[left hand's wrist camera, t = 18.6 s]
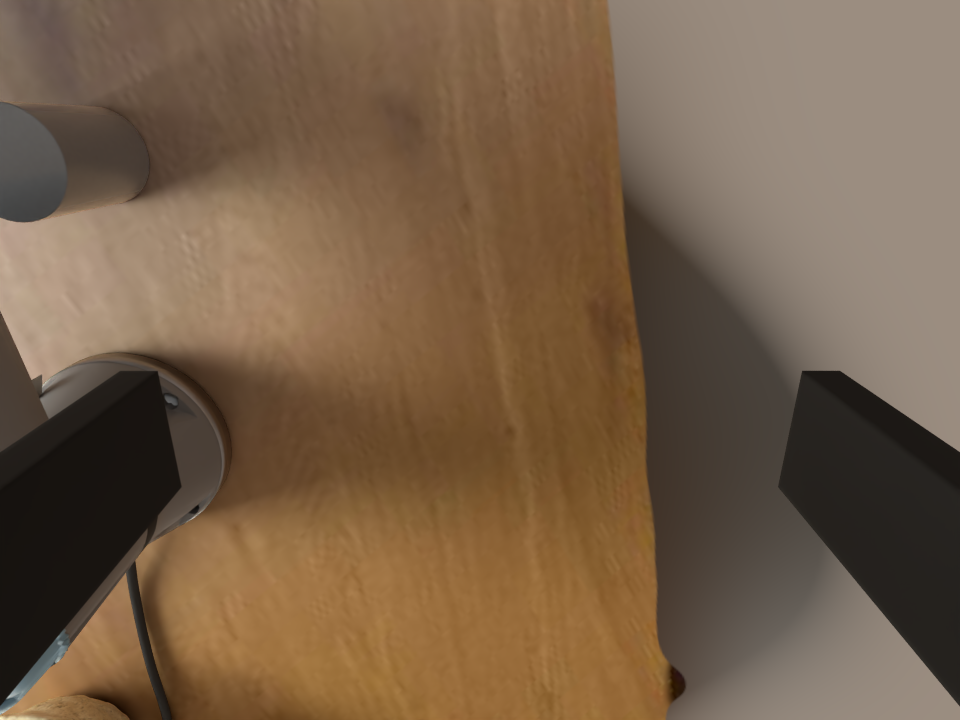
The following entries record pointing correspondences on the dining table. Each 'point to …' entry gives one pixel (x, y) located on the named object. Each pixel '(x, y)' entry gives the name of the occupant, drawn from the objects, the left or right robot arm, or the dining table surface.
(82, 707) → the bowl
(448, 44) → the dining table surface
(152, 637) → the dining table surface
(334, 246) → the dining table surface
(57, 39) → the dining table surface
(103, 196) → the grey cylinder
